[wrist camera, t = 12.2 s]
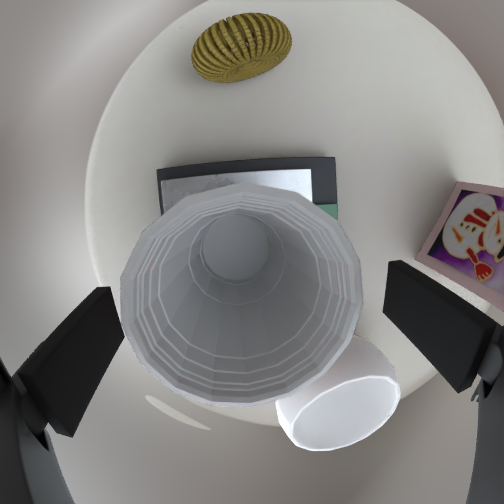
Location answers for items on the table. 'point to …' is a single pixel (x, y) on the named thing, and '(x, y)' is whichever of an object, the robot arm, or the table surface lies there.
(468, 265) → the greeting card
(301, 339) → the plastic cup
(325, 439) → the cup
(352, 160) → the table surface
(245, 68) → the sculpture
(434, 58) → the table surface
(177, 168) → the scale
